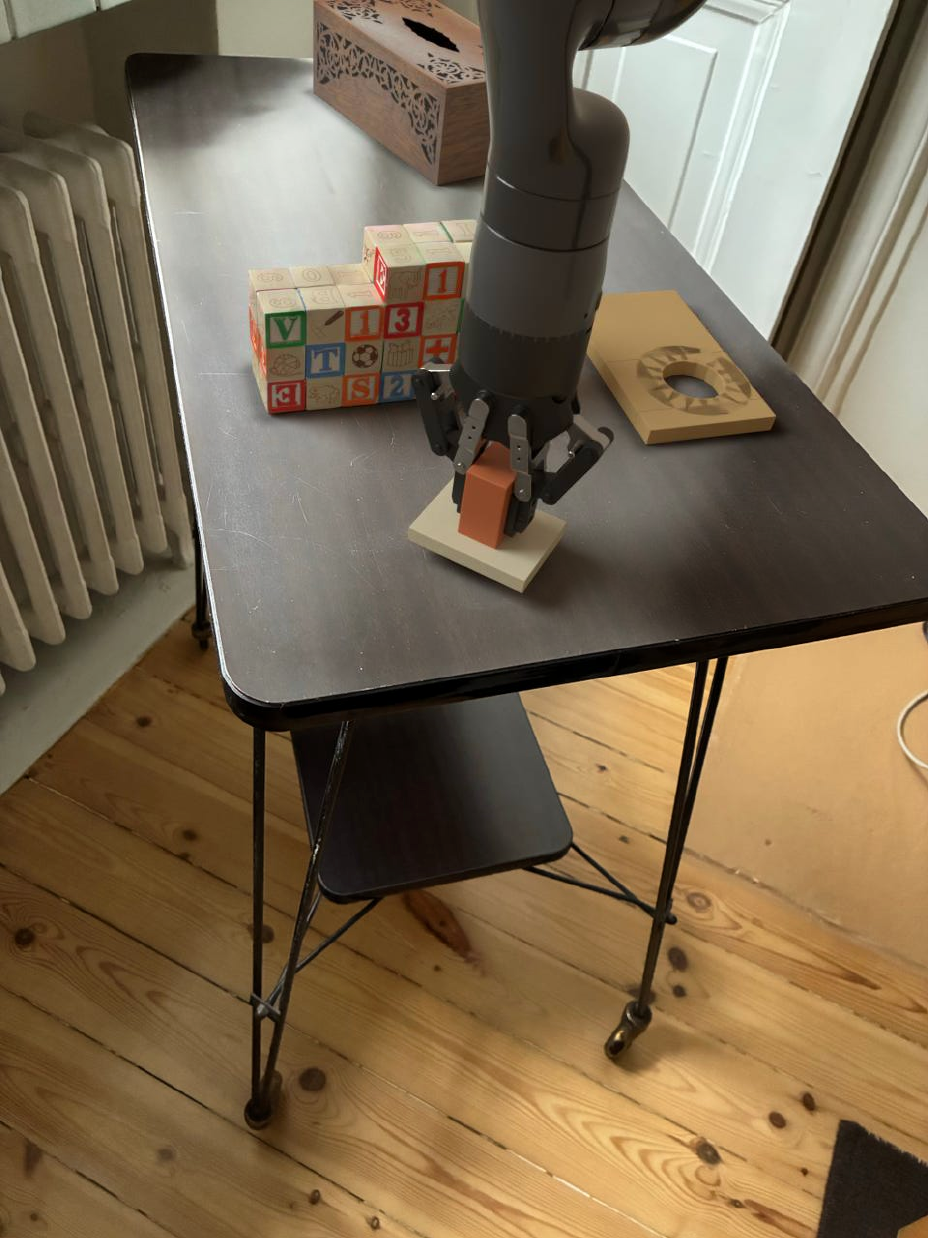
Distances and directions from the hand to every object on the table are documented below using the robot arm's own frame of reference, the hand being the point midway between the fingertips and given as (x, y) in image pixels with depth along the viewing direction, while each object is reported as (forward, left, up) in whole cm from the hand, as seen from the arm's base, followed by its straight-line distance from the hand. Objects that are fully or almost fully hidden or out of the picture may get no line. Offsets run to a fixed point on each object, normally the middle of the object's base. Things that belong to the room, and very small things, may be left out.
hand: (490, 517), depth 68 cm
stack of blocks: (+16, -13, -3) cm, 21 cm away
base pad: (-2, -30, -3) cm, 30 cm away
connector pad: (0, 0, -3) cm, 3 cm away
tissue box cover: (+39, -59, -3) cm, 71 cm away
